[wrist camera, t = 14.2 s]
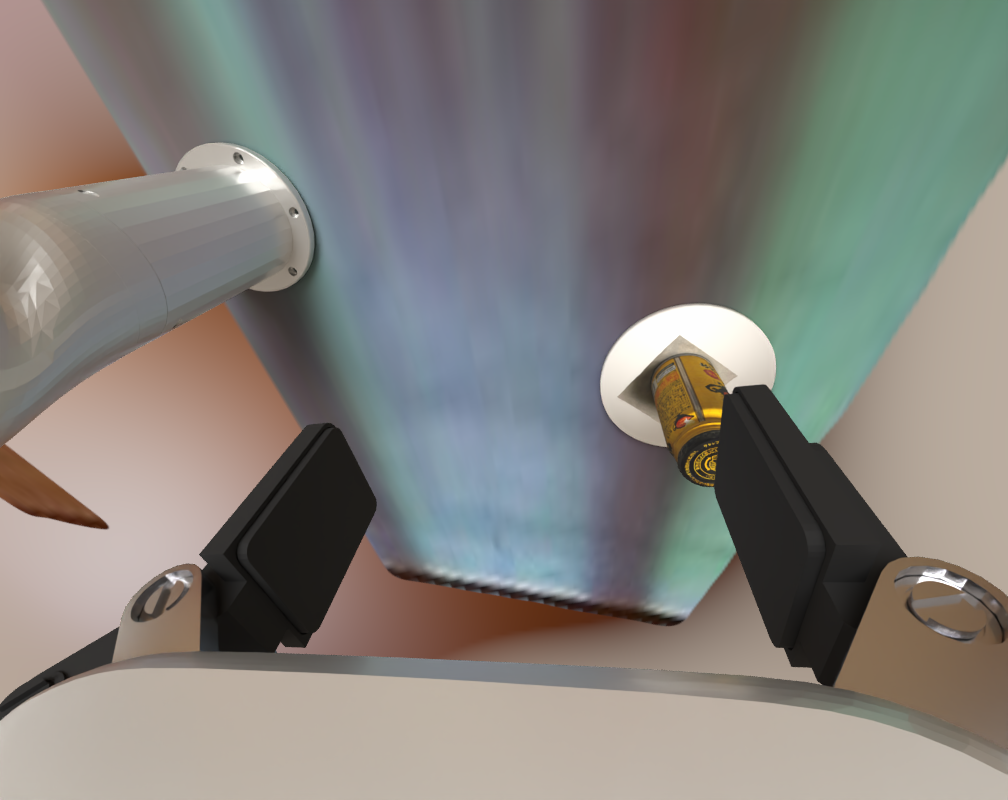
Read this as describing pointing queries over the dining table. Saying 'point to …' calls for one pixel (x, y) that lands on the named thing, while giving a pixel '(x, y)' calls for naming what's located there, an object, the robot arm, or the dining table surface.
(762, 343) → the plate
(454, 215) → the dining table surface
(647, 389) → the condiment
